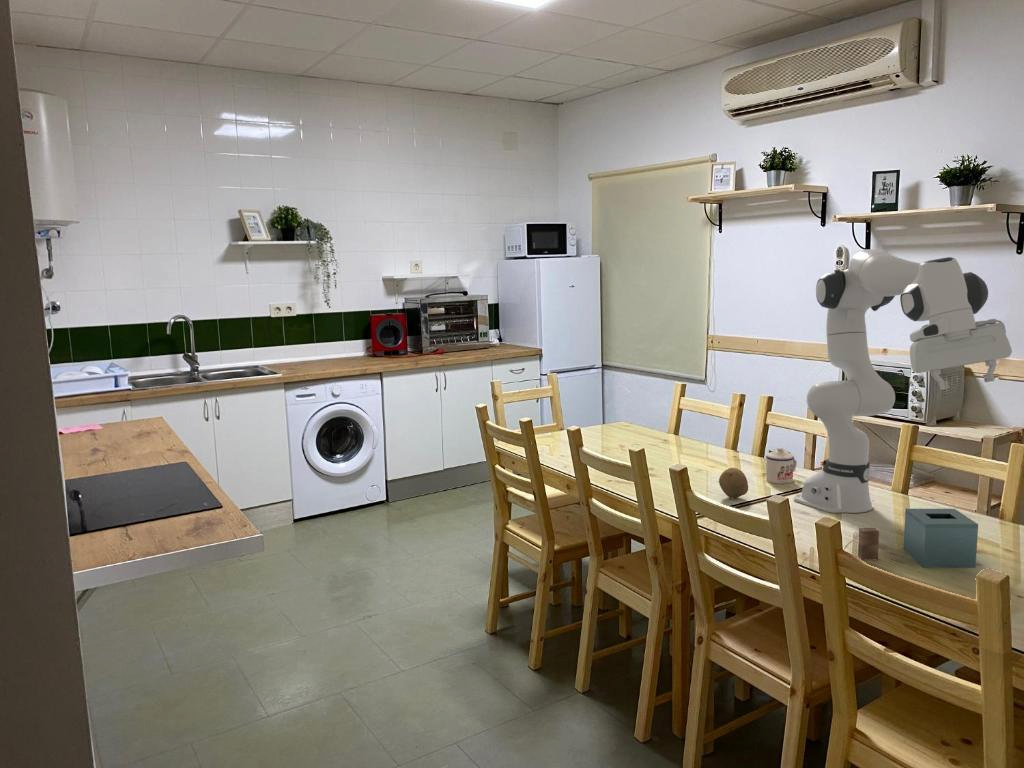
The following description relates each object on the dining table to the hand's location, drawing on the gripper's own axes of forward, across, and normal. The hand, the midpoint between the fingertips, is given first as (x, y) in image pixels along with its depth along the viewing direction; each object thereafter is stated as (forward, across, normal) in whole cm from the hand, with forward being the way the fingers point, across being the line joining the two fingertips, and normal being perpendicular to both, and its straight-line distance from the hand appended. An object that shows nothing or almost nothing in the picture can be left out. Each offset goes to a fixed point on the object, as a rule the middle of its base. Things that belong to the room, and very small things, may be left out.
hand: (967, 385), depth 172 cm
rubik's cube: (+15, +29, -109) cm, 114 cm away
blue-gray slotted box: (+41, +7, -24) cm, 48 cm away
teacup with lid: (+20, +31, -91) cm, 98 cm away
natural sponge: (+22, +50, -69) cm, 88 cm away
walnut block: (+38, +24, -22) cm, 50 cm away
